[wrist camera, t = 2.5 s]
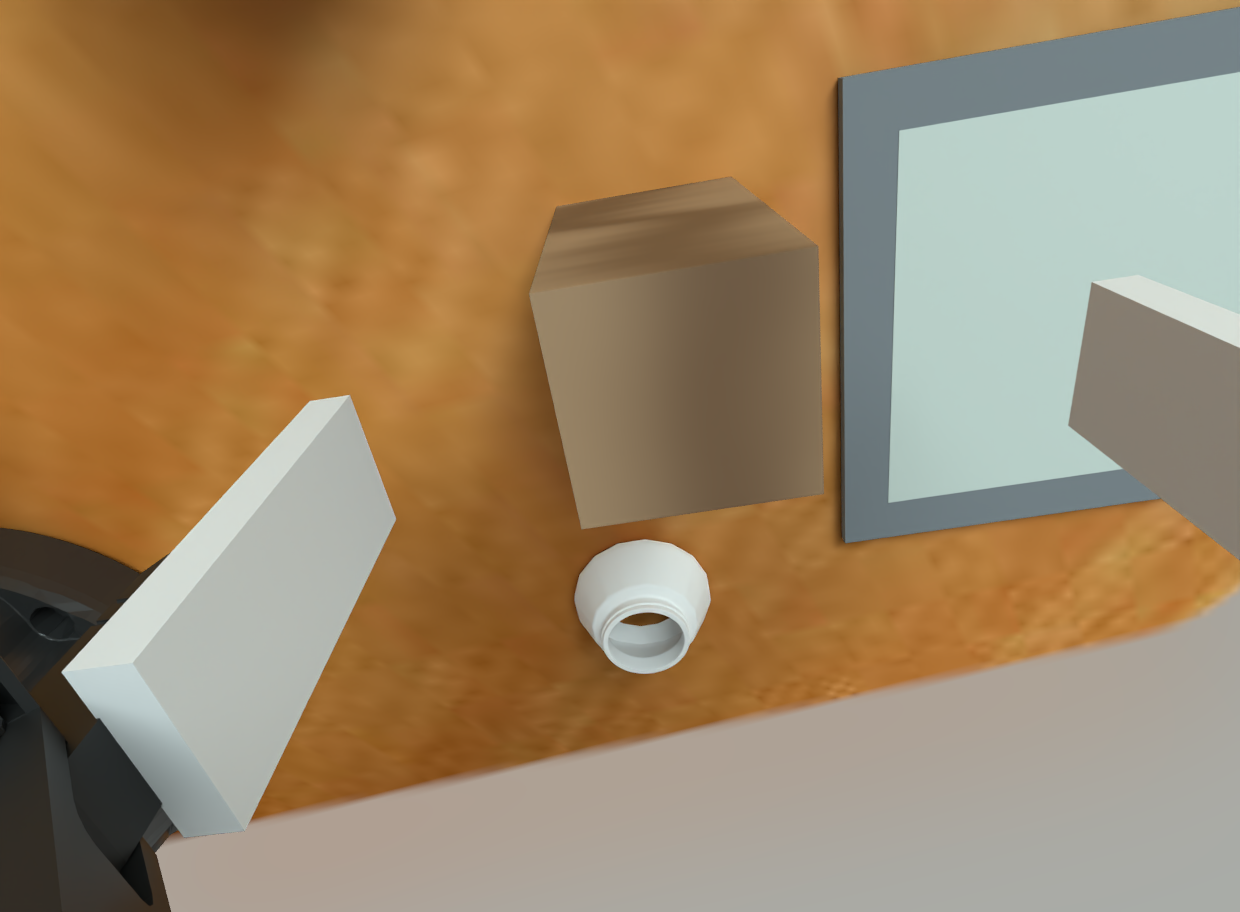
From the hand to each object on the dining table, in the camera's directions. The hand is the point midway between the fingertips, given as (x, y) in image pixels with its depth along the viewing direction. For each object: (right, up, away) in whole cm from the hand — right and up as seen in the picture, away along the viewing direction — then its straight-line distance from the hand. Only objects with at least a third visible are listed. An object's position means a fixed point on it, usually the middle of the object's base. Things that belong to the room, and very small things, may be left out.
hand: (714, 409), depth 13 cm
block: (-1, +5, +8) cm, 9 cm away
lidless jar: (-1, -6, +14) cm, 15 cm away
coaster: (+13, +4, +9) cm, 16 cm away
